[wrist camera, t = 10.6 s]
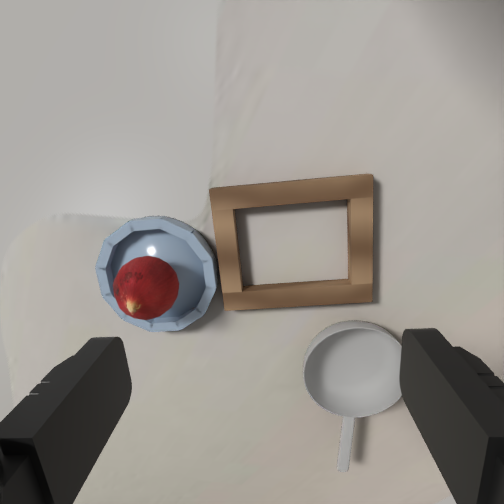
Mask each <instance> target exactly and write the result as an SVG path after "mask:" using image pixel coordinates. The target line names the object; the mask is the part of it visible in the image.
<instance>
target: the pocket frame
mask: <svg viewBox="0 0 504 504" xmlns="http://www.w3.org/2000/svg"><path fill="white" fill-rule="evenodd" d="M209 193H210V201H211V209H212V216H213V224H214V232H215V240H216V247H217V255H218V263H219V271H220V278H221V286H222V294H223V302H224V309H225V311H230V310H247V309H263V308H280V307H296V306H312V305H329V304H345V303H362V302H372V281H373V175H372V174H359V175H348V176H337V177H326V178H315V179H304V180H293V181H282V182H271V183H260V184H249V185H238V186H227V187H216V188H211V189H209ZM344 199H347V225H348V279H338V280H323V281H308V282H293V283H278V284H263V285H248V286H243V281H242V271H241V262H240V253H239V244H238V235H237V226H236V217H235V209H239V208H250V207H262V206H274V205H285V204H297V203H309V202H320V201H332V200H344Z"/></svg>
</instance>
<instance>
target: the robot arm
mask: <svg viewBox="0 0 504 504" xmlns="http://www.w3.org/2000/svg"><path fill="white" fill-rule="evenodd" d="M399 382H400V389H401V394H402V397H403V400H404V402H405V404H406V406H407V408H408V410H409V412H410V414H411V416H412V418H413V420H414V421H415V423H416V425H417V427H418V429H419V431H420V433H421V435H422V437H423V439H424V441H425V443H426V445H427V447H428V449H429V451H430V453H431V455H432V457H433V458H434V460H435V462H436V464H437V466H438V468H439V470H440V472H441V474H442V476H443V478H444V480H445V482H446V484H447V486H448V488H449V490H450V492H451V493H452V495H453V497H454V499H455V501H456V503H457V504H504V383H503V382H502V381H501V380H500V379H499V378H498V377H497V376H494V373H493V372H492V371H491V370H490V368H489V367H488V366H487V365H486V364H485V363H484V362H483V361H482V360H481V359H480V358H478V357H476V356H475V355H473V354H471V353H470V352H468V351H466V350H465V349H463V348H461V347H453V346H452V345H451V344H450V343H449V342H448V341H447V340H446V339H445V337H444V336H443V335H442V334H441V333H440V332H439V331H438V330H437V329H435V328H424V329H405V330H404V332H403V336H402V348H401V361H400V374H399ZM131 390H132V382H131V377H130V372H129V368H128V363H127V358H126V353H125V349H124V344H123V341H122V340H121V338H119V337H96V338H91V339H90V340H89V341H88V342H87V343H86V344H85V345H84V346H83V347H82V348H81V349H80V350H79V351H78V352H77V353H76V354H75V355H74V356H71V357H69V358H68V359H66V360H65V361H63V362H62V363H60V364H59V365H57V366H55V367H54V368H53V369H52V370H51V371H50V372H49V373H48V374H47V375H46V376H45V377H44V378H43V379H42V380H41V383H40V384H37V385H36V386H35V387H34V388H33V390H32V391H31V392H30V394H29V396H26V397H25V398H24V399H23V400H22V401H21V402H20V403H19V404H18V405H17V406H16V407H15V408H14V409H13V410H12V411H11V412H10V413H9V414H8V415H7V416H6V417H5V418H4V419H3V420H2V421H1V422H0V504H73V502H74V500H75V498H76V497H77V495H78V493H79V491H80V490H81V488H82V486H83V484H84V482H85V481H86V479H87V477H88V475H89V473H90V472H91V470H92V468H93V466H94V464H95V463H96V461H97V459H98V457H99V455H100V454H101V452H102V450H103V448H104V446H105V445H106V443H107V441H108V439H109V437H110V436H111V434H112V432H113V430H114V428H115V427H116V425H117V423H118V421H119V419H120V418H121V416H122V414H123V412H124V410H125V409H126V407H127V405H128V403H129V400H130V396H131Z"/></svg>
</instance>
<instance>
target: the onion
mask: <svg viewBox="0 0 504 504" xmlns="http://www.w3.org/2000/svg"><path fill="white" fill-rule="evenodd" d="M113 291H114V297H115V299H116V301H117V304H118V306H119V308H120V309H121V310H122V311H123V312H124V313H125V314H126V315H128V316H130V317H133V318H135V319H141V320H149V319H153V318H156V317H160V316H161V315H163V314H164V313H165V312H166V311H168V310H169V309H170V308H171V307H172V306H173V304H174V302H175V300H176V299H177V296H178V291H179V281H178V277H177V274H176V272H175V271H174V269H173V268H172V267H171V266H170V265H169V263H167V262H165V261H163V260H162V259H160V258H157V257H152V256H143V257H137V258H134V259H132V260H131V261H129V262H128V263H126V264H125V265H123V266H122V267H121V269H120V270H119V272H118V274H117V276H116V278H115V280H114V282H113Z"/></svg>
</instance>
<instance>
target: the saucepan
mask: <svg viewBox="0 0 504 504" xmlns="http://www.w3.org/2000/svg"><path fill="white" fill-rule="evenodd" d="M401 348H402V346H401V344H400V343H399V342H398V341H397V340H396V339H395V338H394V337H393V336H392V335H391V334H390V333H389V332H388V331H386V330H385V329H384V328H382V327H380V326H378V325H375V324H372V323H369V322H364V321H357V320H354V321H343V322H339V323H336V324H333V325H331V326H329V327H327V328H325V329H324V330H323V331H321V332H320V333H319V334H318V335H317V336H316V337H315V338H314V339H313V340H312V342H311V343H310V345H309V346H308V348H307V351H306V353H305V357H304V362H303V379H304V384H305V387H306V390H307V392H308V394H309V395H310V397H311V398H312V400H313V401H314V402H315V403H316V404H317V405H318V406H320V407H321V408H323V409H324V410H326V411H328V412H330V413H332V414H335V415H338V416H342V417H343V419H342V427H341V435H340V444H339V452H338V460H337V469H338V471H340V472H347V471H348V469H349V462H350V454H351V446H352V439H353V431H354V423H355V418H360V417H367V416H371V415H375V414H377V413H380V412H382V411H384V410H386V409H387V408H389V407H391V406H392V405H393V404H394V403H395V402H397V401H398V400H399V399H400V397H401V396H402V394H401V389H400V382H399V374H400V361H401Z"/></svg>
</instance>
